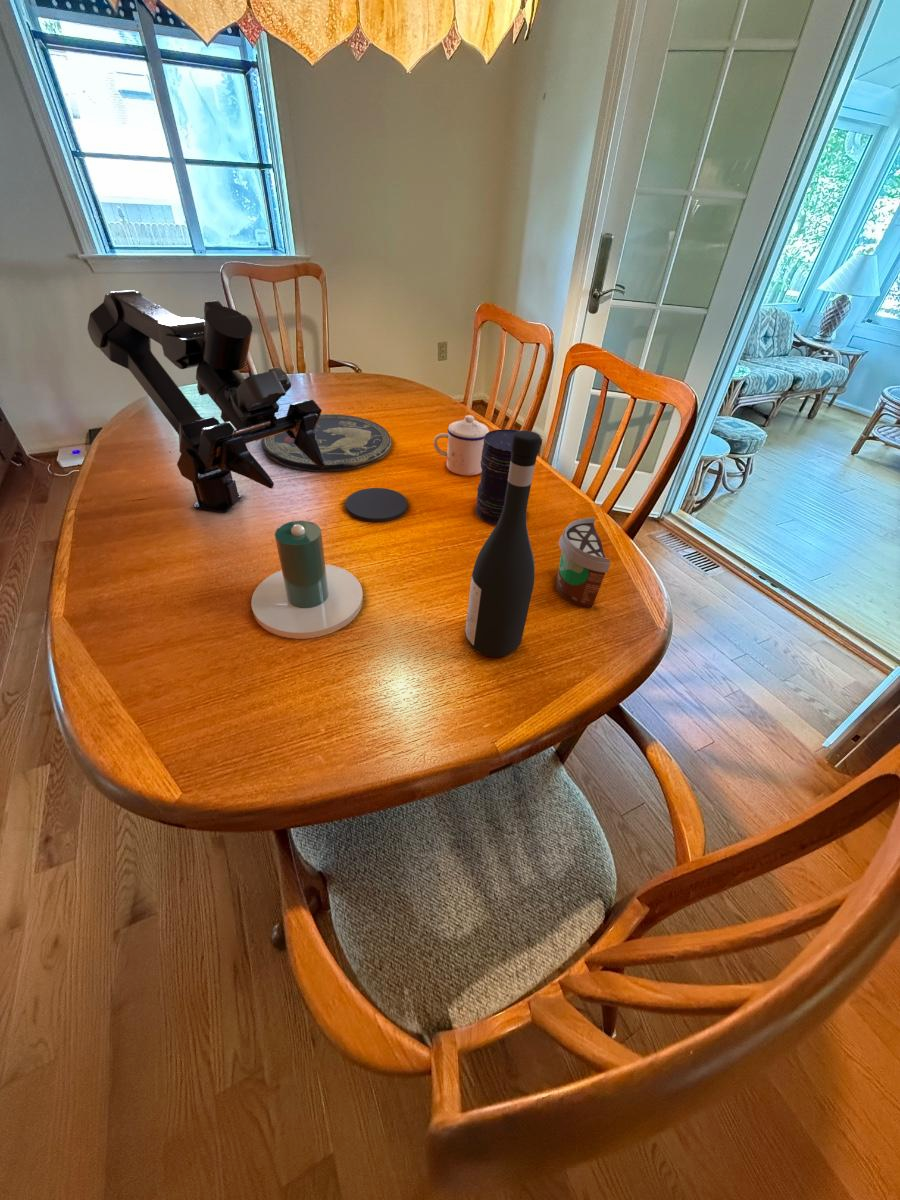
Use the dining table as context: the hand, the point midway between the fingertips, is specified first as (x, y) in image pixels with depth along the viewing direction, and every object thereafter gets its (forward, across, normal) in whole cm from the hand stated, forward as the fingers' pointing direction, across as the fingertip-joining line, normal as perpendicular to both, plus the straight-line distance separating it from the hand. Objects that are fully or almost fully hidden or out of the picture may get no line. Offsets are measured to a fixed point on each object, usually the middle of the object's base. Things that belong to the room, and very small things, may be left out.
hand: (298, 475), depth 72 cm
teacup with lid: (+5, +46, +15) cm, 48 cm away
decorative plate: (-20, +33, +31) cm, 49 cm away
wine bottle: (+36, +5, -5) cm, 37 cm away
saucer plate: (+15, -7, +8) cm, 18 cm away
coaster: (+4, +20, +15) cm, 26 cm away
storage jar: (+20, +35, +5) cm, 41 cm away
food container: (+38, +23, -6) cm, 45 cm away
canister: (+14, -7, +8) cm, 18 cm away
